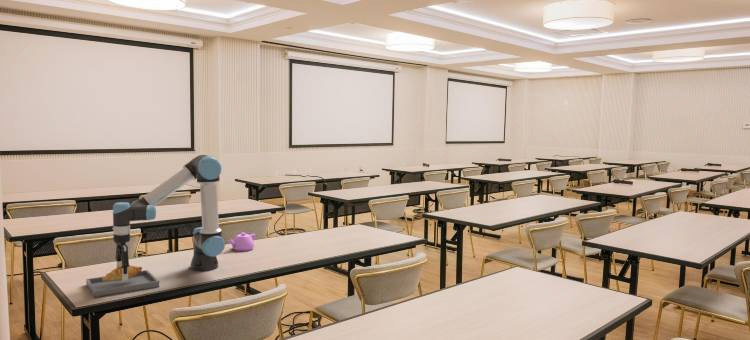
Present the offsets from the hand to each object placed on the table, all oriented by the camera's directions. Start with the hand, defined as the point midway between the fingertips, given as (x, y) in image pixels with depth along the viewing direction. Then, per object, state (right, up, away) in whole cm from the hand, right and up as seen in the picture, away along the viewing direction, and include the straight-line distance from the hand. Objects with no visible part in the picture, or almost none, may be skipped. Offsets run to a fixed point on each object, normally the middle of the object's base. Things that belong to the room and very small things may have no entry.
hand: (122, 276), depth 261 cm
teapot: (+40, +2, +77) cm, 87 cm away
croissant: (0, -1, 0) cm, 1 cm away
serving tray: (0, -5, +1) cm, 5 cm away
